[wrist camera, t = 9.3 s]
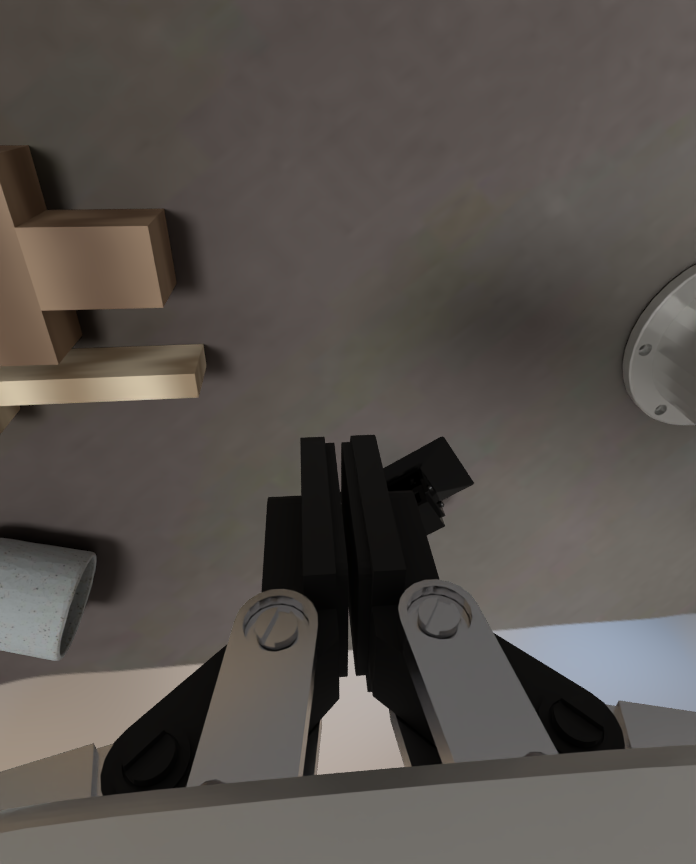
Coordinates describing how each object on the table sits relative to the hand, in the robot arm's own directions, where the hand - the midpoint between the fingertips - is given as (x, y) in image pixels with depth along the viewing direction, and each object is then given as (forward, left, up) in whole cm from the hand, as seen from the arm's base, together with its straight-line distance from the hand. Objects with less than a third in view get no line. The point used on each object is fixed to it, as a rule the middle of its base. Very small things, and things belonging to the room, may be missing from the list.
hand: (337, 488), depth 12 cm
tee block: (+13, 0, -22) cm, 26 cm away
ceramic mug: (+21, +24, -22) cm, 39 cm away
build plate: (-7, +19, -23) cm, 30 cm away
